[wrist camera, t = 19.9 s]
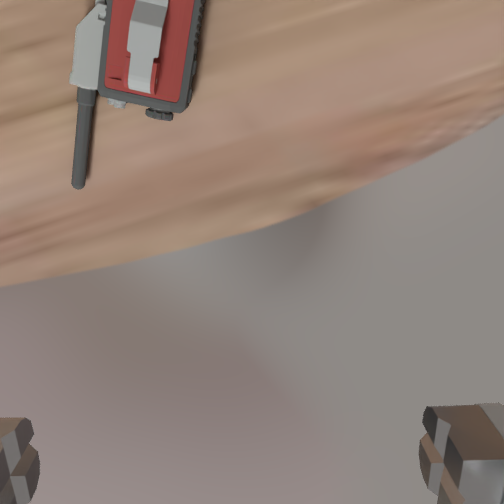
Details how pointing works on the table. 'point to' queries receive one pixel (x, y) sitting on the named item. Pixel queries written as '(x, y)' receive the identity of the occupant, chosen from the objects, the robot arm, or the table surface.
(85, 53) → the walkie-talkie
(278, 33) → the table surface
